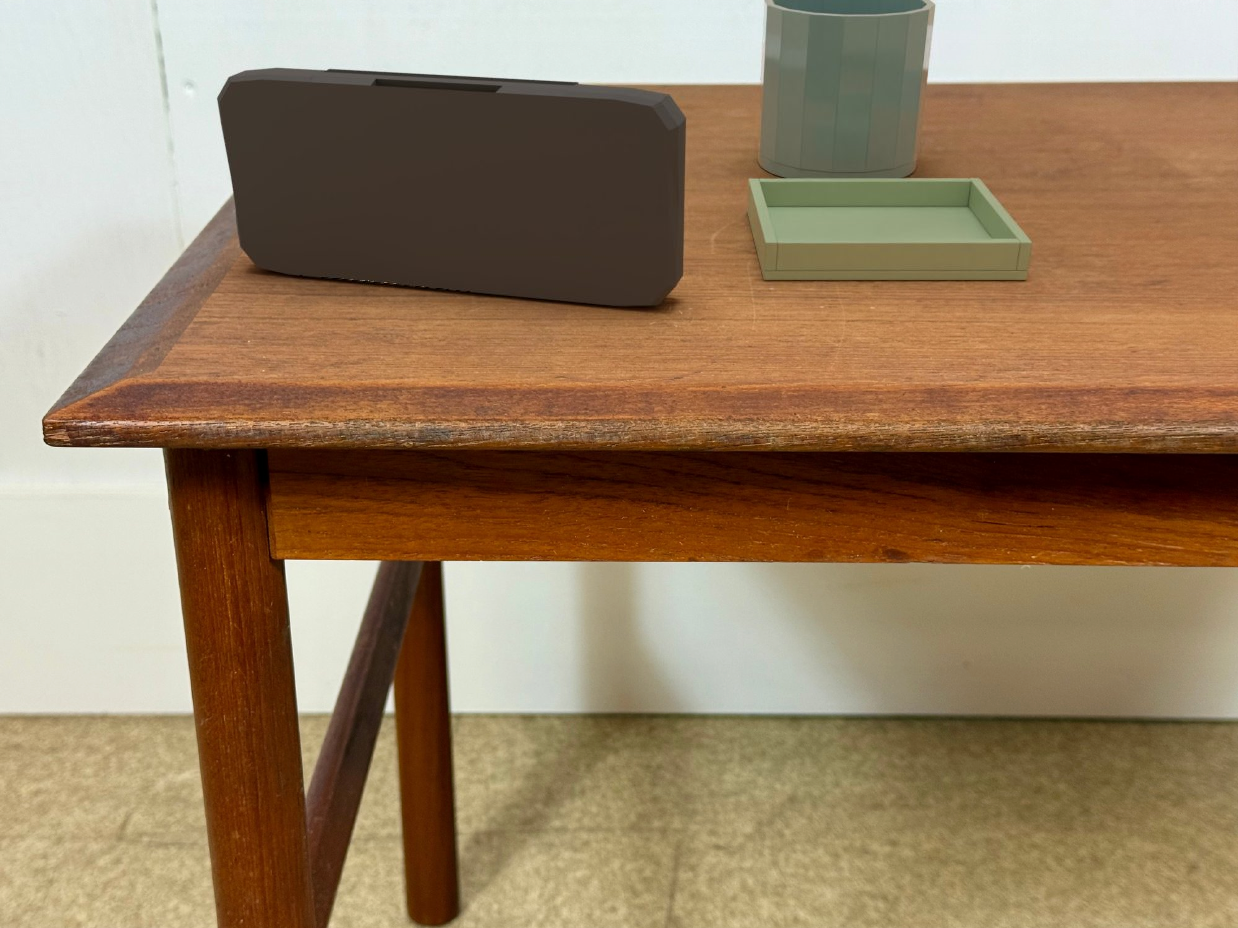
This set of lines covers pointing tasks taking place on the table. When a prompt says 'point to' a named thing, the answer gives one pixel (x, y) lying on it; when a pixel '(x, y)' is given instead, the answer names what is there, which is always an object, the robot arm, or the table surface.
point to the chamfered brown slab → (459, 182)
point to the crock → (843, 87)
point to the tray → (884, 230)
